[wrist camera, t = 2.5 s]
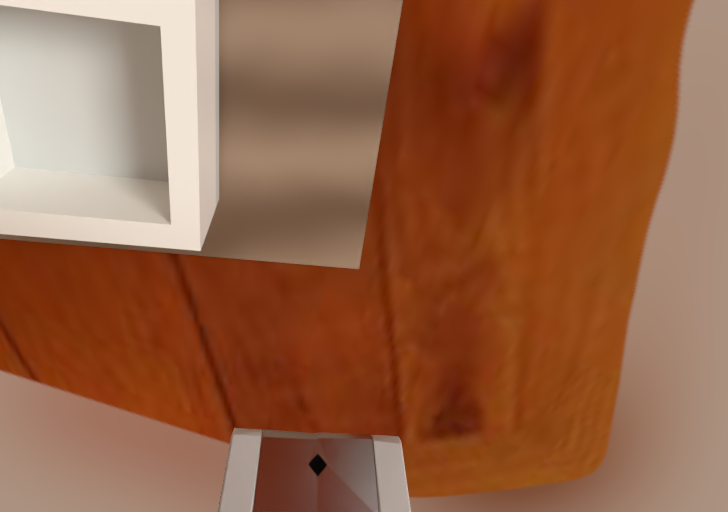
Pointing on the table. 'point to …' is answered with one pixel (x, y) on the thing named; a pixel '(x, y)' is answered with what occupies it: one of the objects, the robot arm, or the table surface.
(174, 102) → the frame
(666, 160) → the table surface
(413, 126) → the table surface
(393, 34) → the board
